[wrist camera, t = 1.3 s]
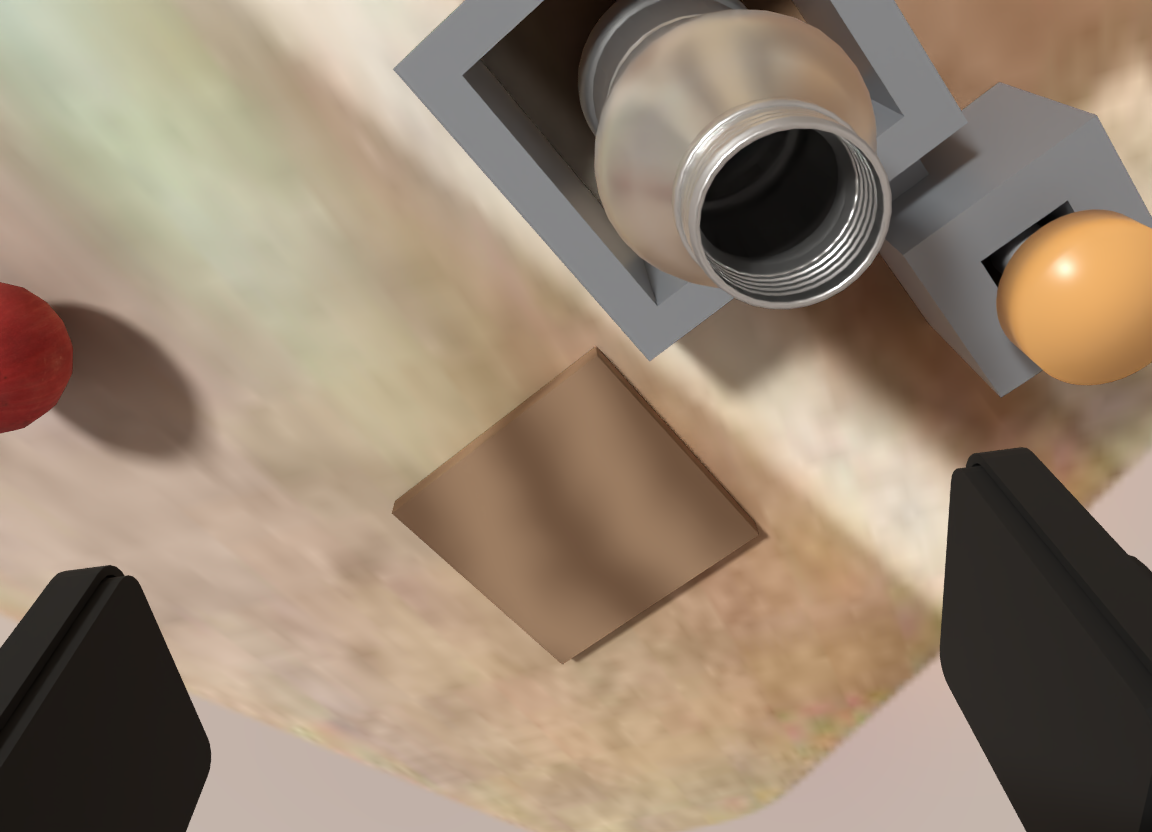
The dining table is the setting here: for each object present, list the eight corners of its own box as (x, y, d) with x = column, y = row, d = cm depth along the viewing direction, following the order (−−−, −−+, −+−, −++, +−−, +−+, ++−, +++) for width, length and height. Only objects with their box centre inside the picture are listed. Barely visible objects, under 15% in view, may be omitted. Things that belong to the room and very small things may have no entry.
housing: (779, -298, 30) (842, -358, 23) (1079, 220, 38) (1184, 278, 32) (416, 46, 34) (388, 73, 28) (756, 444, 42) (793, 533, 36)
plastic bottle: (753, 150, 36) (957, 365, 19) (580, 164, 36) (617, 391, 19) (757, -33, 33) (1003, 13, 16) (567, -18, 33) (598, 45, 16)
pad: (596, 346, 40) (597, 355, 39) (754, 522, 44) (759, 534, 43) (394, 501, 43) (391, 513, 42) (561, 650, 48) (562, 664, 47)
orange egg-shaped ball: (1051, 147, 32) (1154, 192, 26) (1113, 256, 33) (1221, 318, 28) (922, 240, 33) (995, 300, 28) (988, 339, 35) (1069, 414, 29)
